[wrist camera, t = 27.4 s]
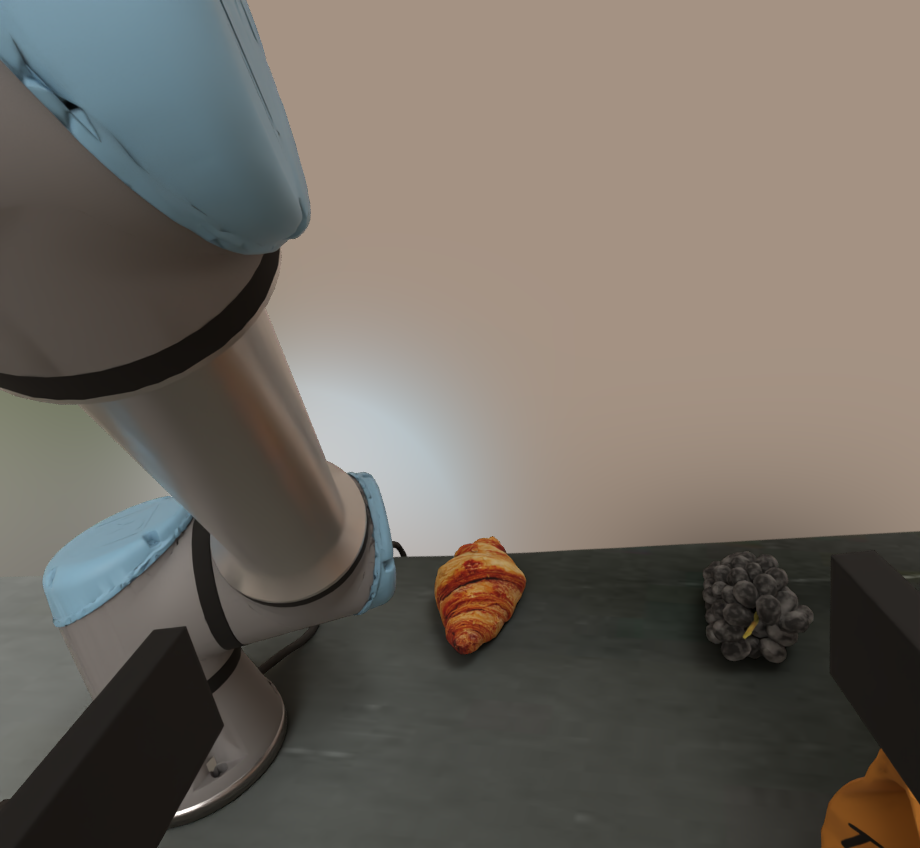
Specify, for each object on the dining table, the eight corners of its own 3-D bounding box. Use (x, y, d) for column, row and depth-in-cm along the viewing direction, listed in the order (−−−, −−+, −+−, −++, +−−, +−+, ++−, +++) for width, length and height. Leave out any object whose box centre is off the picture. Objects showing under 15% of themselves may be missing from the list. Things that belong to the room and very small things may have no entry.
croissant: (476, 577, 81) (438, 532, 79) (538, 540, 77) (500, 492, 76) (448, 696, 61) (397, 638, 59) (530, 652, 58) (479, 590, 56)
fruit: (706, 503, 63) (728, 586, 49) (792, 523, 61) (839, 615, 48) (683, 573, 66) (698, 670, 52) (764, 594, 65) (801, 699, 51)
